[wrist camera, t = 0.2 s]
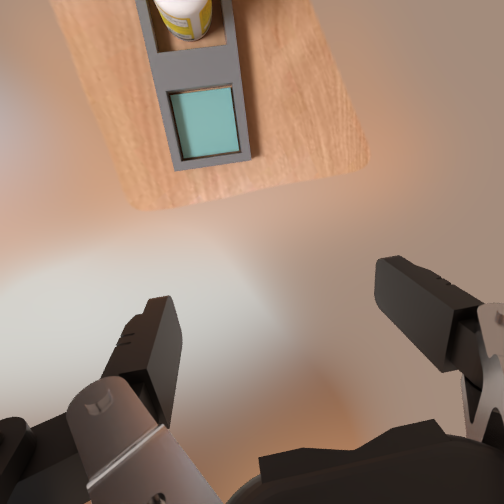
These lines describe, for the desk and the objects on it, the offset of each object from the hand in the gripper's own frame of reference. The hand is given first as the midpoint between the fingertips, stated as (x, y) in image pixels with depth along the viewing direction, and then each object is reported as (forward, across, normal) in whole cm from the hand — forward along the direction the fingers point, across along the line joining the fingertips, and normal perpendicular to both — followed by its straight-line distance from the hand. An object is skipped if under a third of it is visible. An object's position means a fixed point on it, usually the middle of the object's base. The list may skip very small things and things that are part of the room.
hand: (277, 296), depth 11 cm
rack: (+28, +2, -13) cm, 31 cm away
